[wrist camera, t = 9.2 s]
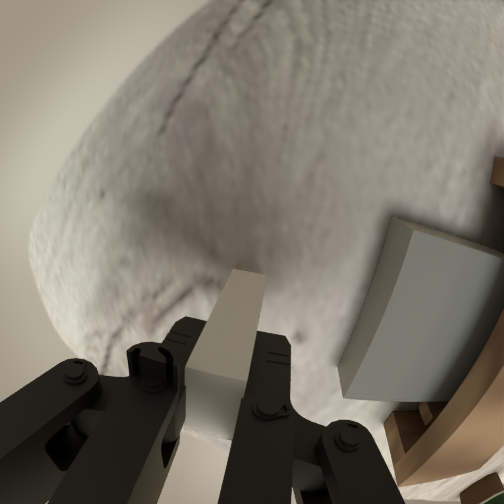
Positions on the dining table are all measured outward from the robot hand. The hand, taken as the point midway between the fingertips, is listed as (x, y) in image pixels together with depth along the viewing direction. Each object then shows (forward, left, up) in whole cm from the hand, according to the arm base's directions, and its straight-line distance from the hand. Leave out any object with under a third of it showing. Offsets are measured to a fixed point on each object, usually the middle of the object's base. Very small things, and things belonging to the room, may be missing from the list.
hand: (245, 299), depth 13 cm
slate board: (0, +11, -2) cm, 12 cm away
